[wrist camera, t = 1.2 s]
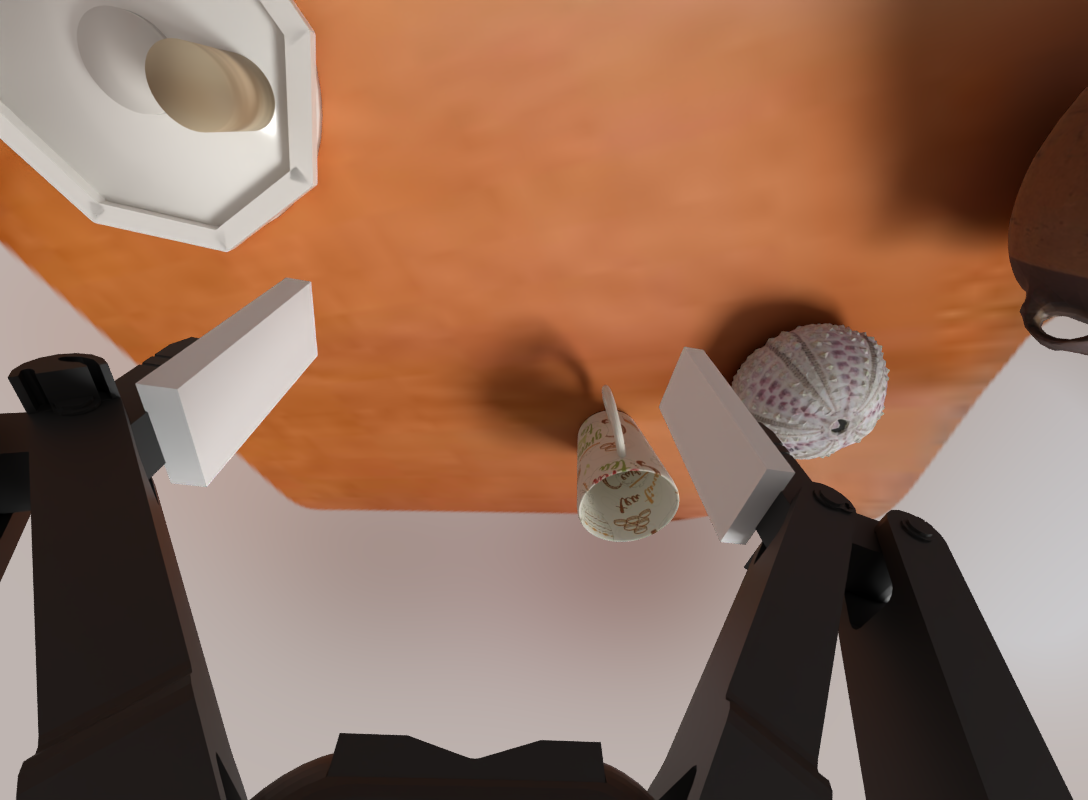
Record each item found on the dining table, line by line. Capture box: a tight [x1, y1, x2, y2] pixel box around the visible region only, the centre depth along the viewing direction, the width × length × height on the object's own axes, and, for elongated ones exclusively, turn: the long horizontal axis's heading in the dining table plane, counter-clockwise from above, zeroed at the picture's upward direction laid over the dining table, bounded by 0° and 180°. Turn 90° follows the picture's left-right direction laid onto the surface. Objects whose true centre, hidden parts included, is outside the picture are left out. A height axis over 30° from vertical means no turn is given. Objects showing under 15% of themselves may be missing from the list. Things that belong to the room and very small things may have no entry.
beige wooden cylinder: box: [145, 38, 275, 133], centre depth 25 cm, size 4×4×5 cm
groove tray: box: [0, 0, 322, 252], centre depth 26 cm, size 20×20×2 cm
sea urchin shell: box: [731, 323, 890, 459], centre depth 38 cm, size 13×14×8 cm
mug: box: [577, 385, 679, 542], centre depth 39 cm, size 8×13×10 cm, turn 13°
